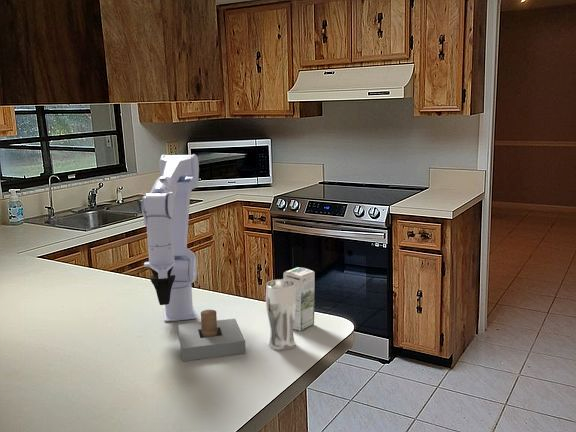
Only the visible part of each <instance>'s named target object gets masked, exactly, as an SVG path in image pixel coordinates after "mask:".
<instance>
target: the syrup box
mask: <svg viewBox="0 0 576 432" xmlns="http://www.w3.org/2000/svg"><path fill="white" fill-rule="evenodd" d="M315 273H316V272H315V271H314V270H311V269H309V268H306V267H298V266H297V267H295V268H292V269H289V270H285V271H284V272H283V277H282V279H287V280H291V281H293V282H295V291H296V311H295V318H294V324H293V330H295V331H298V332H299V331H300V332H302V331H304V330H306V329H307V328H310V327H311V326H313V325H315V279H316V278H315V275H316V274H315Z"/></svg>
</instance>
